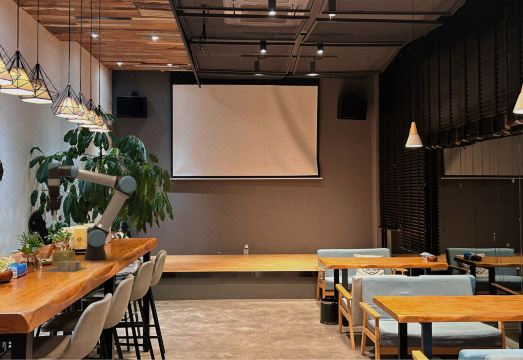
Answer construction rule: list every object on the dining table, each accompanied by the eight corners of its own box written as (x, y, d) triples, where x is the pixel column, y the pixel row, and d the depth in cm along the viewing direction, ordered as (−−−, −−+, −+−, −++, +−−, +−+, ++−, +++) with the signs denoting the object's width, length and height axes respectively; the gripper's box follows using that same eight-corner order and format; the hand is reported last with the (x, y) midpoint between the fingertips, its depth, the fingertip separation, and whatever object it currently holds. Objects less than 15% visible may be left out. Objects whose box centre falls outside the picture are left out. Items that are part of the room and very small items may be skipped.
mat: (55, 268, 317) (55, 267, 317) (87, 268, 314) (87, 267, 314) (40, 272, 302) (40, 271, 302) (74, 273, 299) (74, 272, 299)
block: (63, 260, 311) (81, 261, 309) (62, 268, 311) (81, 269, 309) (58, 262, 306) (76, 262, 304) (58, 270, 306) (76, 270, 304)
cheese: (66, 267, 320) (66, 252, 320) (51, 267, 322) (51, 251, 322) (75, 265, 330) (75, 250, 330) (60, 264, 332) (60, 249, 332)
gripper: (59, 185, 343) (59, 219, 343) (41, 185, 332) (41, 220, 332) (65, 185, 339) (65, 219, 339) (48, 185, 328) (48, 221, 328)
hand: (54, 220), depth 335 cm, fingers closed
